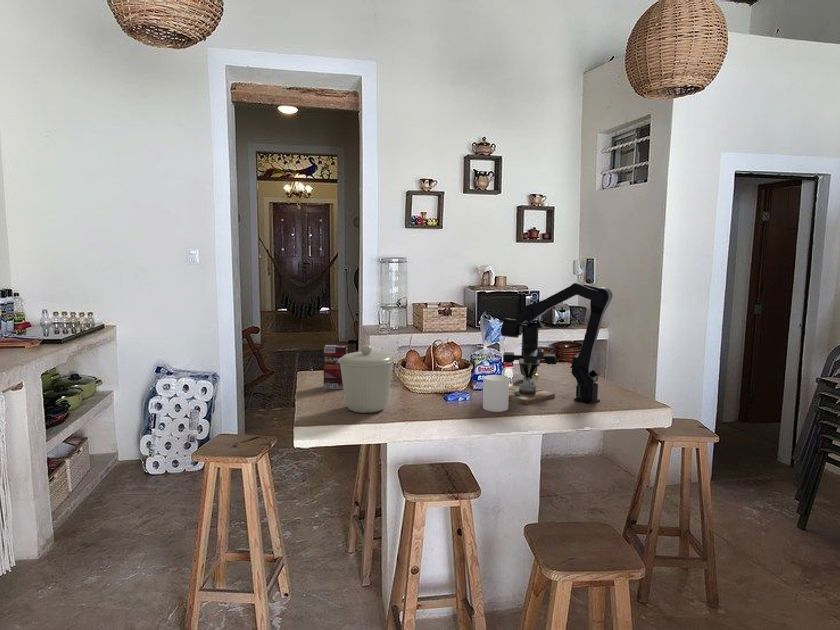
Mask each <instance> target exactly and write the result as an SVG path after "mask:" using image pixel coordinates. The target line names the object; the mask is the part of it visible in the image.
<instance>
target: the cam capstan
mask: <svg viewBox="0 0 840 630" xmlns="http://www.w3.org/2000/svg"><path fill="white" fill-rule="evenodd" d="M540 379H541V378H540V375H539V374H538V373H536V374H534V375H533V376H532V377H530V378H527V379H524V378H523V380H522V383H519V385H518V386H519V392H520V393H523V394H535V393H536V389H537V384H533V383H534V382H538V381H540Z"/></svg>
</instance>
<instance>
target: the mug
mask: <svg viewBox="0 0 840 630" xmlns="http://www.w3.org/2000/svg"><path fill="white" fill-rule="evenodd" d="M482 378H483V382H482V408H483V410H485V411H487V412H493V413H498V412H499V413H501V412H507V410H509V400H508V398H509V388H510V387H509V386H510V385H509V384H510V377H508V376H507V375H501V374H489V375H488V374H487V375H485V376H483V377H482Z"/></svg>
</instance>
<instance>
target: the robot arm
mask: <svg viewBox="0 0 840 630" xmlns="http://www.w3.org/2000/svg"><path fill="white" fill-rule="evenodd" d="M575 296H579V297H582V298H583V299H587V300H590V305H589V306H590V307H589V308H590V314H589V319H588V321H587V326H586V329H585V330H586V331H585V333H584V337H583V341H582V345H581V349H580V353H577V354H576V355H573V356H572V363H571V366H569V367H570V369H571V375H572V376H573V377H574V378H575V380H576V382H577V385H576V386H575V388H576V389H575V397H574V398H573V400H575V401H577V402H581V403H586V404H593V403H597V402H600V401H601V399H599V398H598V395H599V394H598V393H599V384H598V383H597V382H598V380H599V378H600V375H599V374H598V373H597V371H595V369H594V351H595V347H596V344H597V340H598V337H599V333H600V329H601V325H602V321H603V317H604V315H605V313H606V311H607V309H608V307H609V306H610V304H611V302H612V299H613V292H612V290H611V289H610V288H609V287H606V286H601V287H597V286H592V285H589V284H586V283H585V284H584V283H582V282H578V281H577V282H574V283H572V284H571V285H569V286H567V287H566V288H564V289H562V290H560V291H558V292H556V293H555V294H552V295H550V296H549V297H546V298H545V299H542V300H540V301H537V302H533V303H530V304H527V305H524V306H523V307H521V310H520V314H519V316H517V318H516V319H513V318H507V317H505V318H503V322H502V323H501V324H502V325H501V327H500V335H501V336H502V337H504V338H514V339H516V338H517V339H518V338H519V337H520V336H521V354H515V352H509V351H505V352H503V353H502V362H503V363H505V364H507V363H510V364H512V363H513V362H515V361H518V365H519V366H520V365H522V366H523V369H524V371H525V374H526V378H530V377H531V376H532V374H533V371H534V370H535V368H536V367H537V366H538V367H540V362H545V364H547V365H557V356H556V355H555V354H554V353H544V349H539V329H542V328H545V324H544V323H543V322H542V321H541V320H537V319H539V318H540V317H542V316H543V315H544V314H545V313H547V312H548V311H549V310H551V309H552V308H553V307H556V306H558V305H560V304H562V303H564V302H566V301H567V300H570V299H571V298H573V297H575ZM535 320H537V321H536V322H535ZM527 363H530V368H529V375H528V364H527ZM538 367H537V368H538Z"/></svg>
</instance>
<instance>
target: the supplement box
mask: <svg viewBox="0 0 840 630" xmlns="http://www.w3.org/2000/svg"><path fill="white" fill-rule="evenodd" d="M322 348H323V389H324V390H328V389H329V390H331V389H333V390H336V389H337V390H339V389H340V390H341V389H343V382H342V374H341V366H340V363H339V362H338V359H339V358H341V357H342V356H344V355H346V354H348V345H347V344H325V345H324V346H323V347H322Z"/></svg>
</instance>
